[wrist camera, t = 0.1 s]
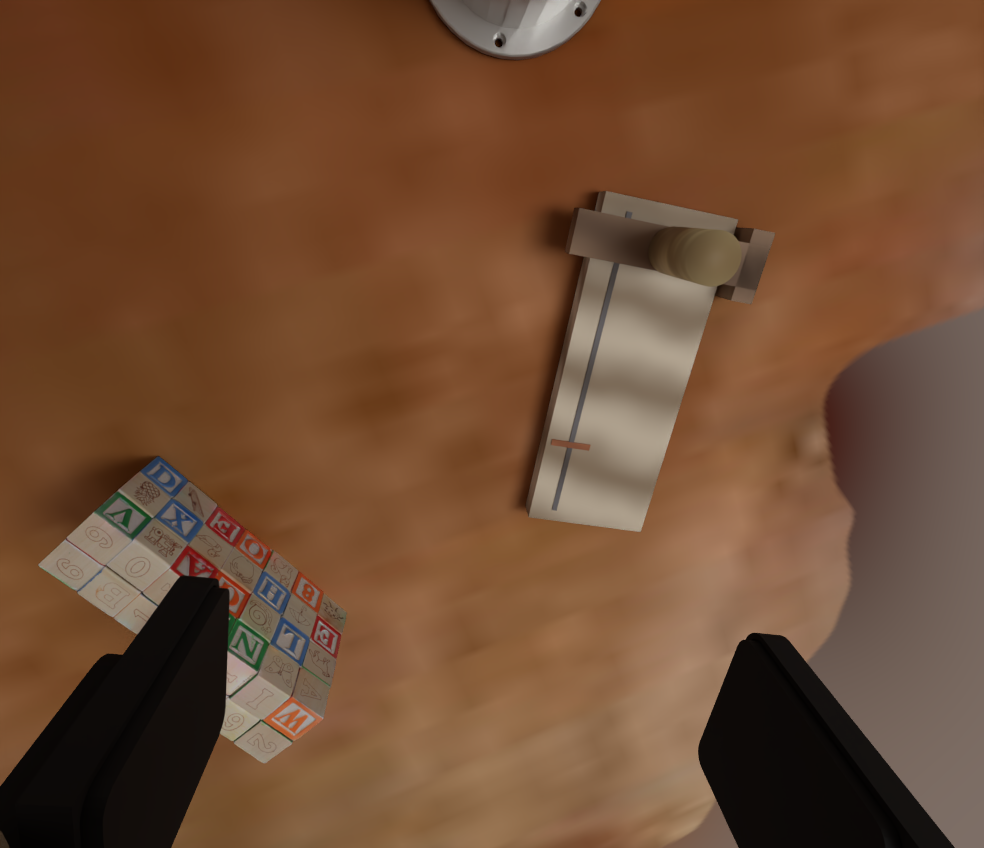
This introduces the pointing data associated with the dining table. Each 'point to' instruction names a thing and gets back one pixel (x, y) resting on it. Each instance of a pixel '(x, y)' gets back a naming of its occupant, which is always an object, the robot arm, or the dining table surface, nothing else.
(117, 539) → the stack of blocks
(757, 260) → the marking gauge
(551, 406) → the birch board
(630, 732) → the dining table surface
